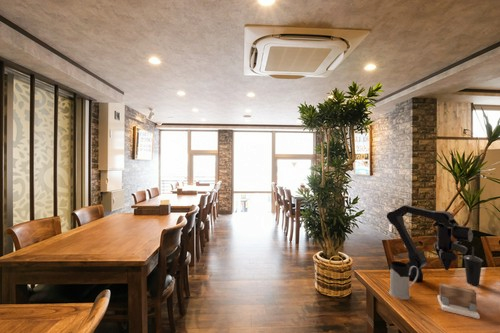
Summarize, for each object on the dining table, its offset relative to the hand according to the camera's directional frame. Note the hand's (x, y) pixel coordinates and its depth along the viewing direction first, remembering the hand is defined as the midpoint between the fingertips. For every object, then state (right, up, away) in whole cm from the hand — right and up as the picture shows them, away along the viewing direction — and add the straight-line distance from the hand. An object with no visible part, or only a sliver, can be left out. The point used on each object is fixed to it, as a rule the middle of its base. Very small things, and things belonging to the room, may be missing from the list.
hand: (444, 266), depth 120 cm
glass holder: (-23, -12, -4) cm, 26 cm away
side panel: (-7, -12, -15) cm, 20 cm away
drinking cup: (+21, -12, +7) cm, 26 cm away
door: (-7, -10, -15) cm, 19 cm away
